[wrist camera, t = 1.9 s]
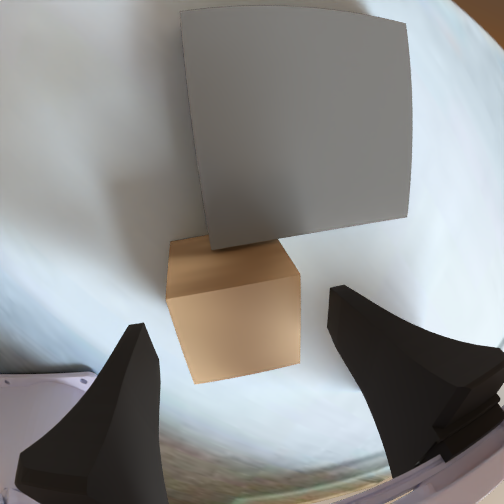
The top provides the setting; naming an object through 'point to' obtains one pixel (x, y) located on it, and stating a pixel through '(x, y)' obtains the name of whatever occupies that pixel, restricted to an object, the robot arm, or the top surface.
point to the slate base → (297, 119)
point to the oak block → (234, 307)
